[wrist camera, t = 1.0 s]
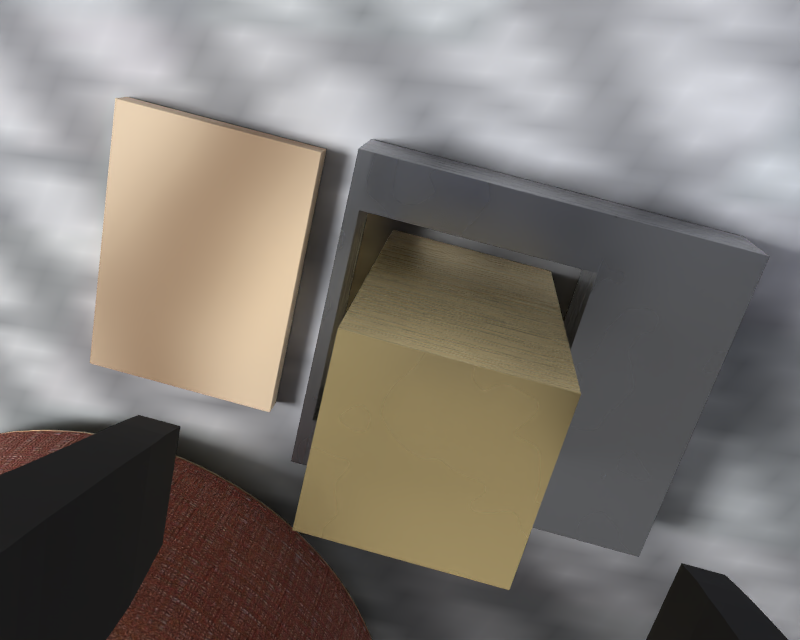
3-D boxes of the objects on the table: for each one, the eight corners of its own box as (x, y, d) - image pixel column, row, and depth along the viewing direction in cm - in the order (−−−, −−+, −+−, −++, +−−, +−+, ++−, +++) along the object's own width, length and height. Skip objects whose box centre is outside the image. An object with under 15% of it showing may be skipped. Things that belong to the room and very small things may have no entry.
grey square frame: (743, 236, 18) (769, 256, 16) (626, 514, 20) (638, 556, 19) (371, 139, 18) (358, 148, 16) (307, 427, 21) (290, 461, 19)
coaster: (326, 149, 18) (321, 152, 18) (275, 402, 21) (269, 412, 20) (127, 97, 18) (115, 98, 18) (100, 354, 21) (89, 363, 20)
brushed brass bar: (550, 271, 18) (581, 393, 12) (504, 411, 20) (509, 590, 13) (393, 229, 19) (338, 328, 12) (358, 372, 20) (292, 529, 13)
